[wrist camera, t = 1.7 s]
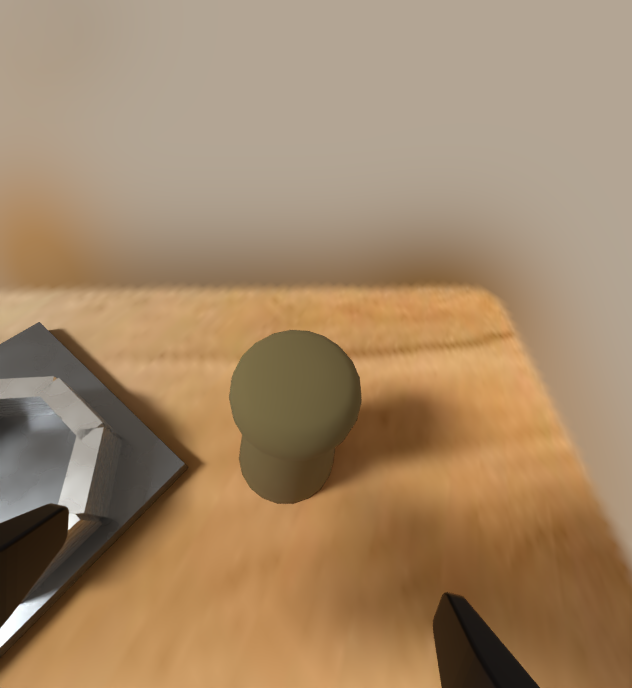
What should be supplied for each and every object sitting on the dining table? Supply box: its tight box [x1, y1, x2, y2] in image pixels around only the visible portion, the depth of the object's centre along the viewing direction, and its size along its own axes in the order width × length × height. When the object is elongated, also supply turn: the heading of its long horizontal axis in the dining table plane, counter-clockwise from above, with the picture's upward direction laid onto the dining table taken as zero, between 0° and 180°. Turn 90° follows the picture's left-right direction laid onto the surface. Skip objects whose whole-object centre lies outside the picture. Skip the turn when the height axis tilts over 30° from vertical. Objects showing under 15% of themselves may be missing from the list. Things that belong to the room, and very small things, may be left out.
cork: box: [229, 330, 361, 504], centre depth 16 cm, size 6×6×11 cm
